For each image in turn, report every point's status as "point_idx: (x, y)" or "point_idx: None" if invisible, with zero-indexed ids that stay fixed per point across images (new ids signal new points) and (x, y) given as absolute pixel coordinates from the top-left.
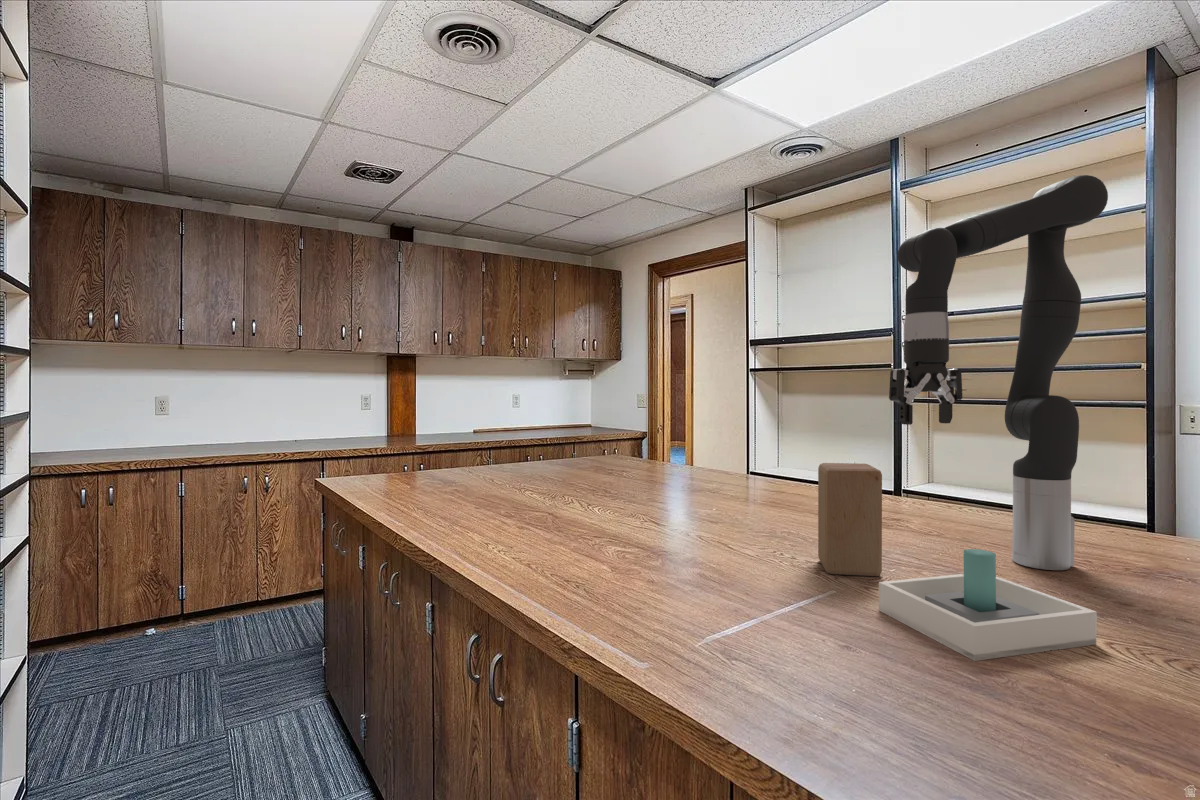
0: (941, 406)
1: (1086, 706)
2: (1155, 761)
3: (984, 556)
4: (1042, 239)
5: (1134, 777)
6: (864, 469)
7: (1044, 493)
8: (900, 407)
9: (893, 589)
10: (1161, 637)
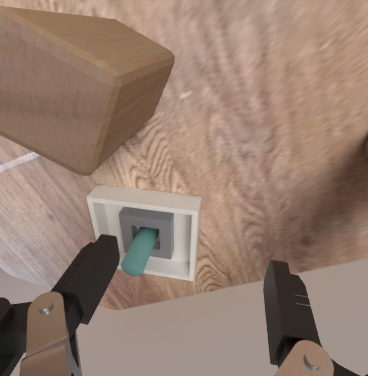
0: (276, 330)
1: (128, 285)
2: (119, 304)
3: (128, 273)
4: None
5: (105, 304)
6: (56, 160)
7: None
8: (57, 288)
9: (90, 211)
10: (248, 273)
